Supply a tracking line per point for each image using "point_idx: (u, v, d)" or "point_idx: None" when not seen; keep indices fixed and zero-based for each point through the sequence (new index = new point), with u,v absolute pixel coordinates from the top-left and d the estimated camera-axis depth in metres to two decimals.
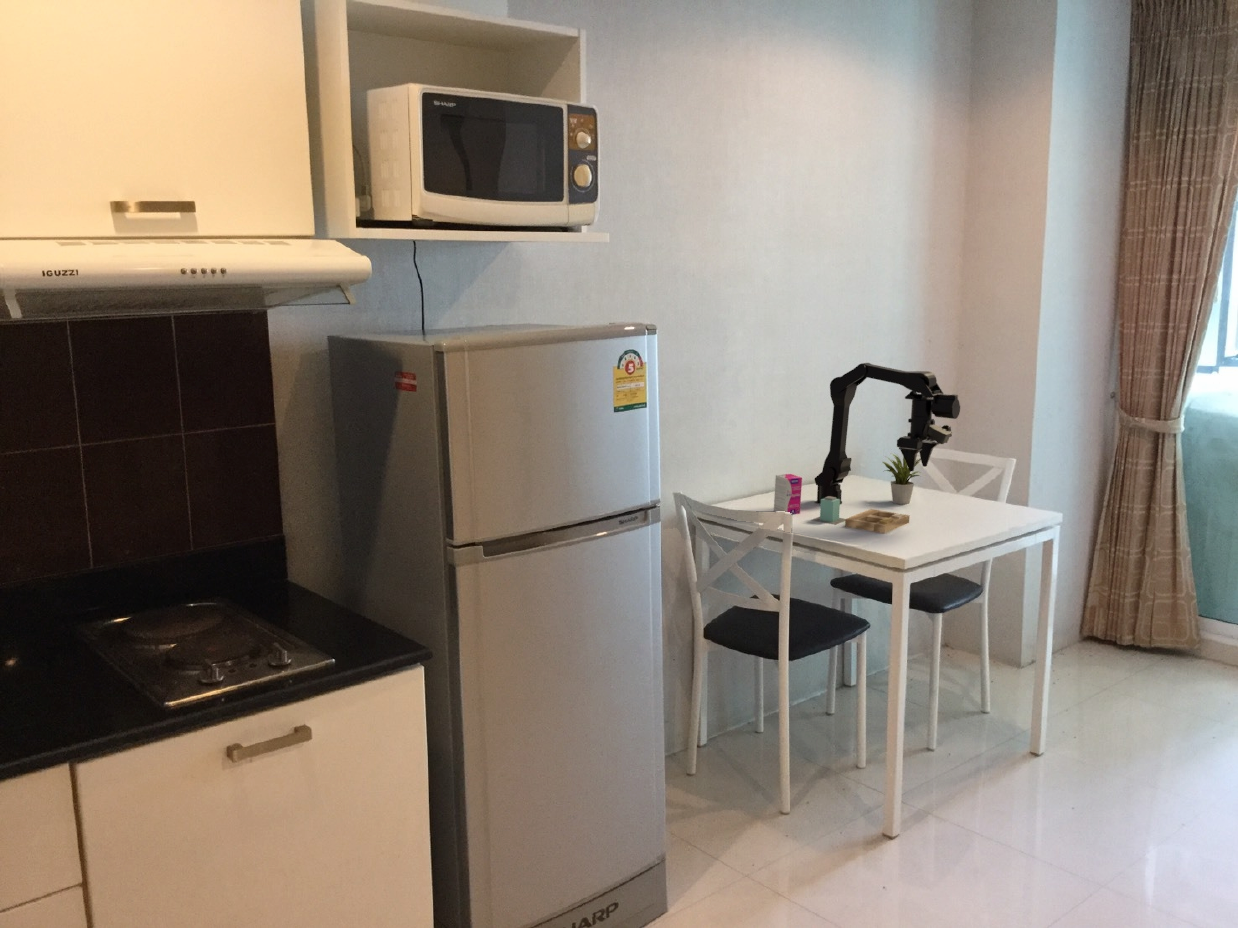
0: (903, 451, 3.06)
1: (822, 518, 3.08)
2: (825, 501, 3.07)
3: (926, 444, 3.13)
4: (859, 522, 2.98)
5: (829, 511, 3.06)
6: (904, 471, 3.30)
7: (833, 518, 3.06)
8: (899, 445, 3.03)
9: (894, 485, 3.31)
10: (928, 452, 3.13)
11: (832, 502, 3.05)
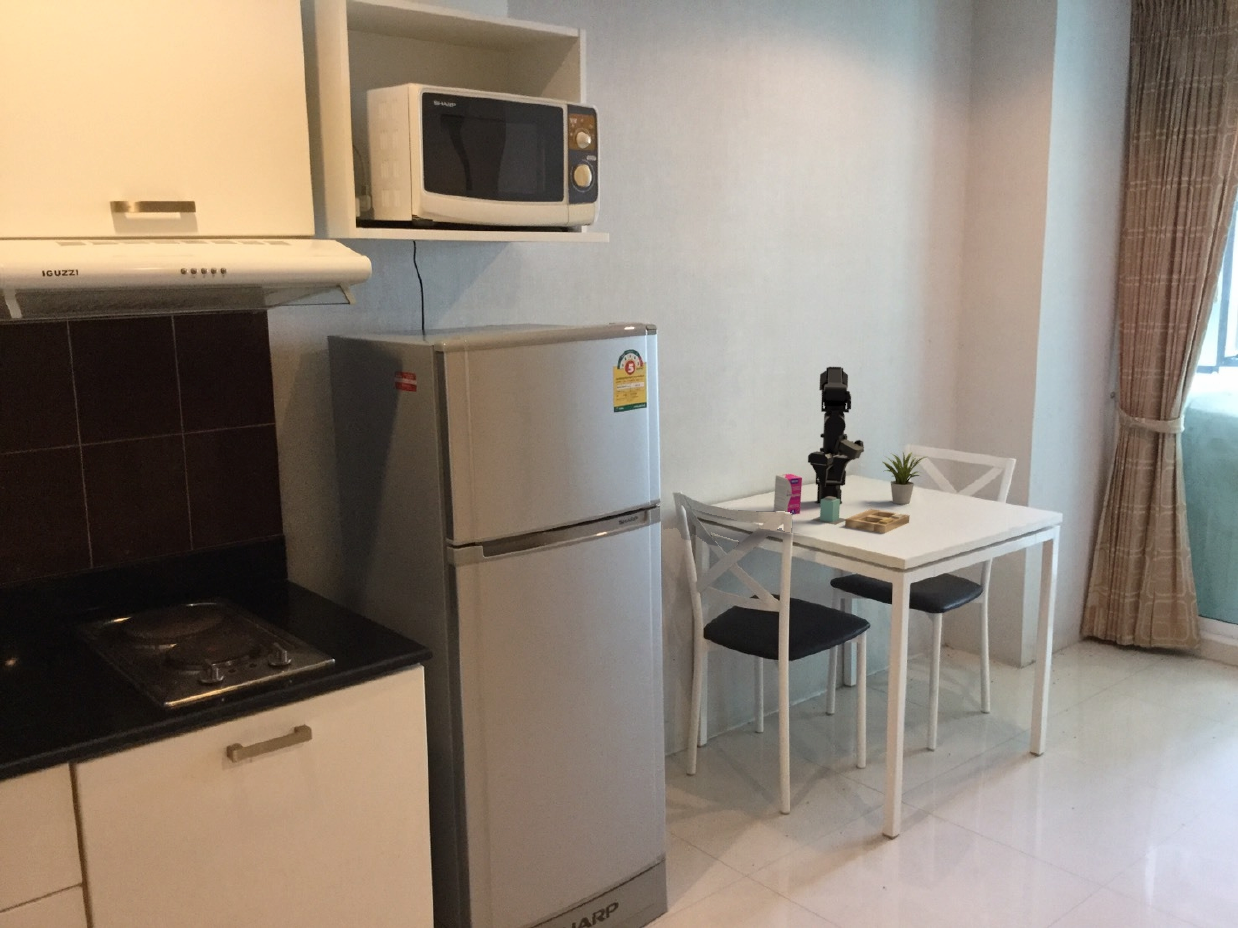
0: (815, 467, 3.02)
1: (822, 518, 3.08)
2: (825, 501, 3.07)
3: (840, 459, 3.10)
4: (859, 522, 2.98)
5: (829, 511, 3.06)
6: (904, 471, 3.30)
7: (833, 518, 3.06)
8: (810, 461, 3.00)
9: (894, 485, 3.31)
10: (842, 467, 3.09)
11: (832, 502, 3.05)
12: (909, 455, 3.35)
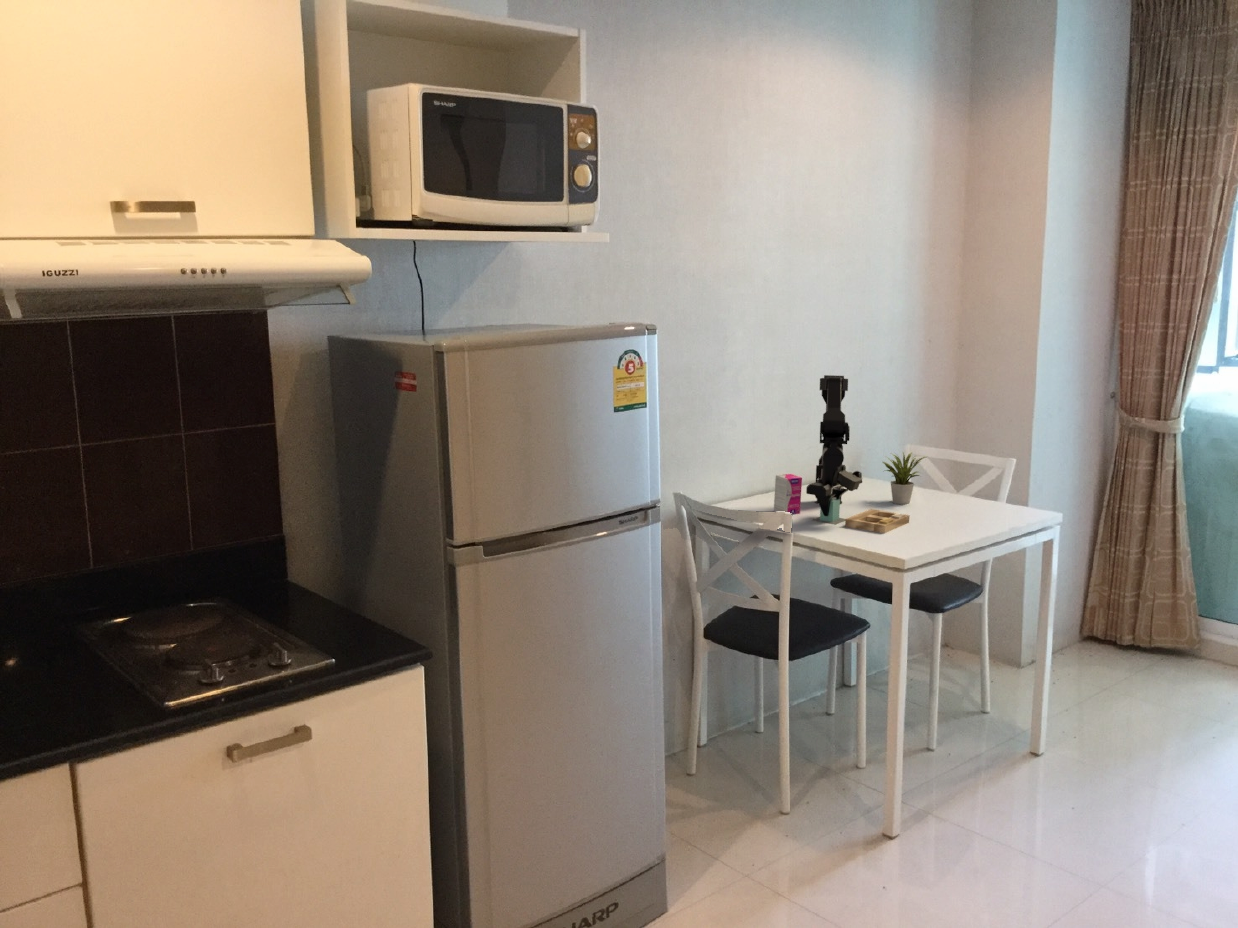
0: (817, 496, 3.06)
1: (822, 518, 3.08)
2: None
3: (834, 491, 3.09)
4: (859, 522, 2.98)
5: (829, 511, 3.06)
6: (904, 471, 3.30)
7: (833, 518, 3.06)
8: (808, 492, 3.01)
9: (894, 485, 3.31)
10: None
11: (832, 502, 3.05)
12: (909, 455, 3.35)
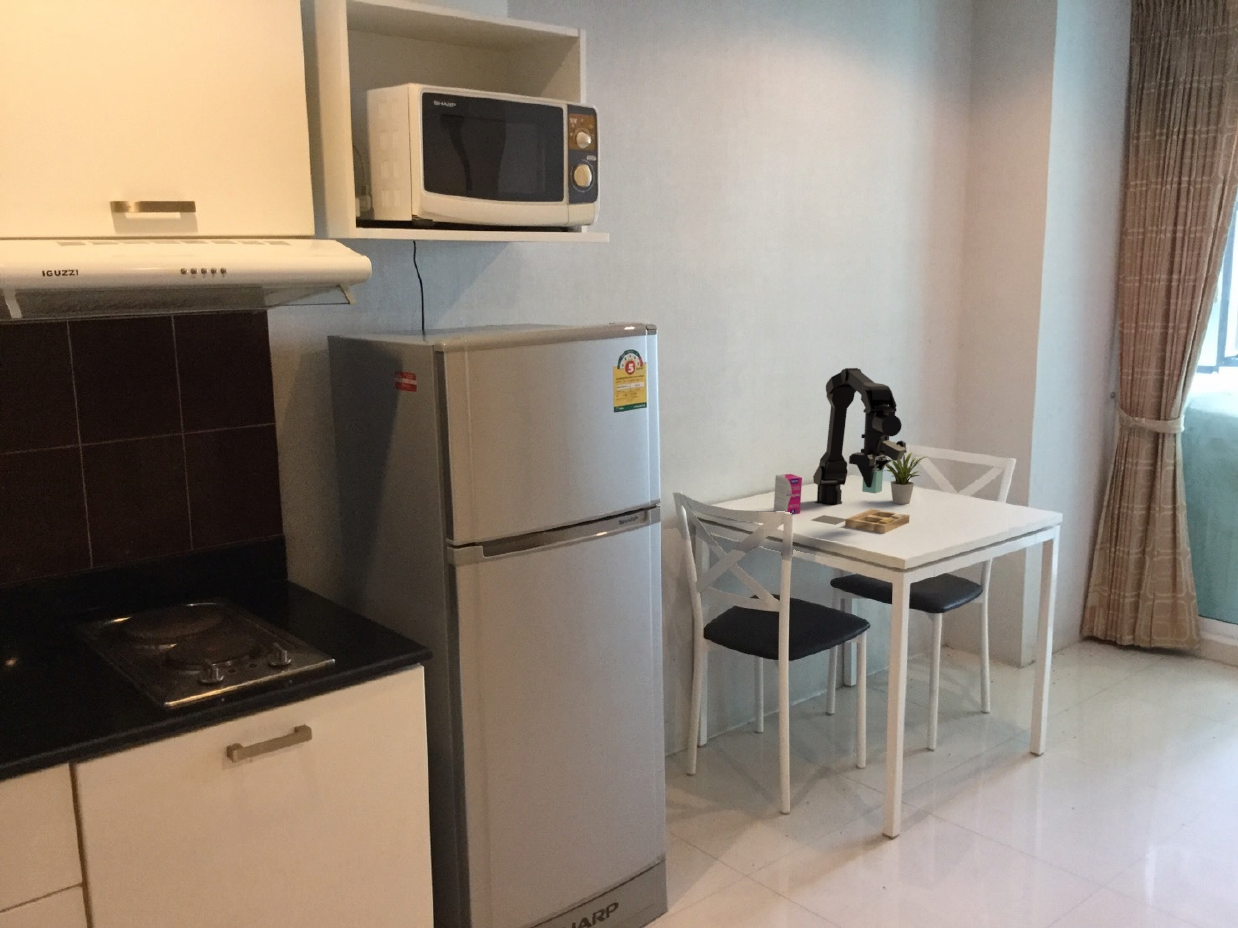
0: (860, 467, 2.96)
1: (864, 490, 2.98)
2: None
3: (877, 462, 3.00)
4: (859, 522, 2.98)
5: (872, 482, 2.96)
6: (904, 471, 3.30)
7: (876, 489, 2.96)
8: (851, 462, 2.91)
9: (894, 485, 3.31)
10: None
11: (875, 473, 2.95)
12: (909, 455, 3.35)
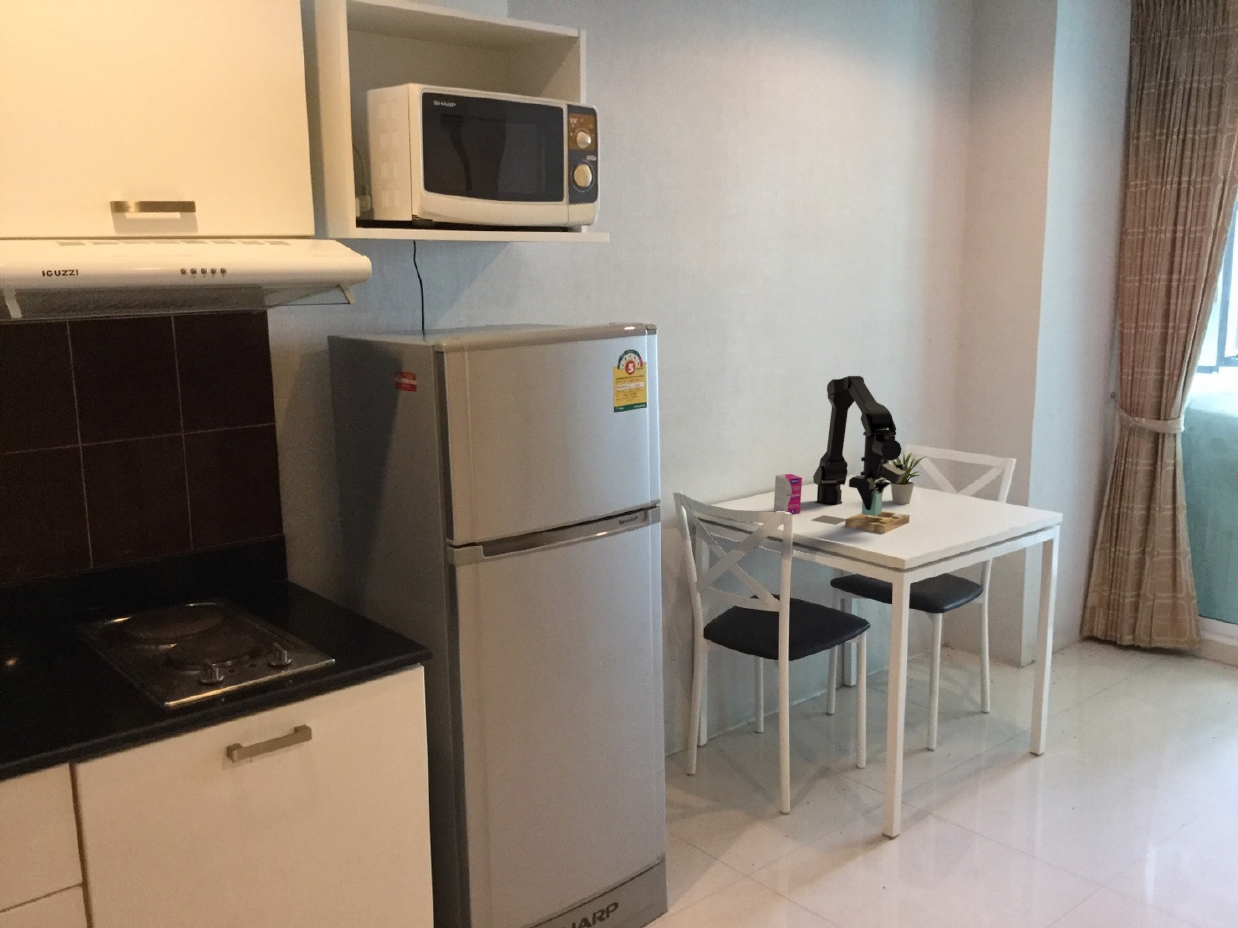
0: (859, 490, 2.97)
1: (864, 512, 2.99)
2: None
3: (877, 484, 3.01)
4: (859, 522, 2.98)
5: (871, 505, 2.98)
6: None
7: (875, 512, 2.98)
8: (851, 485, 2.93)
9: (894, 485, 3.31)
10: None
11: (875, 496, 2.97)
12: (909, 455, 3.35)
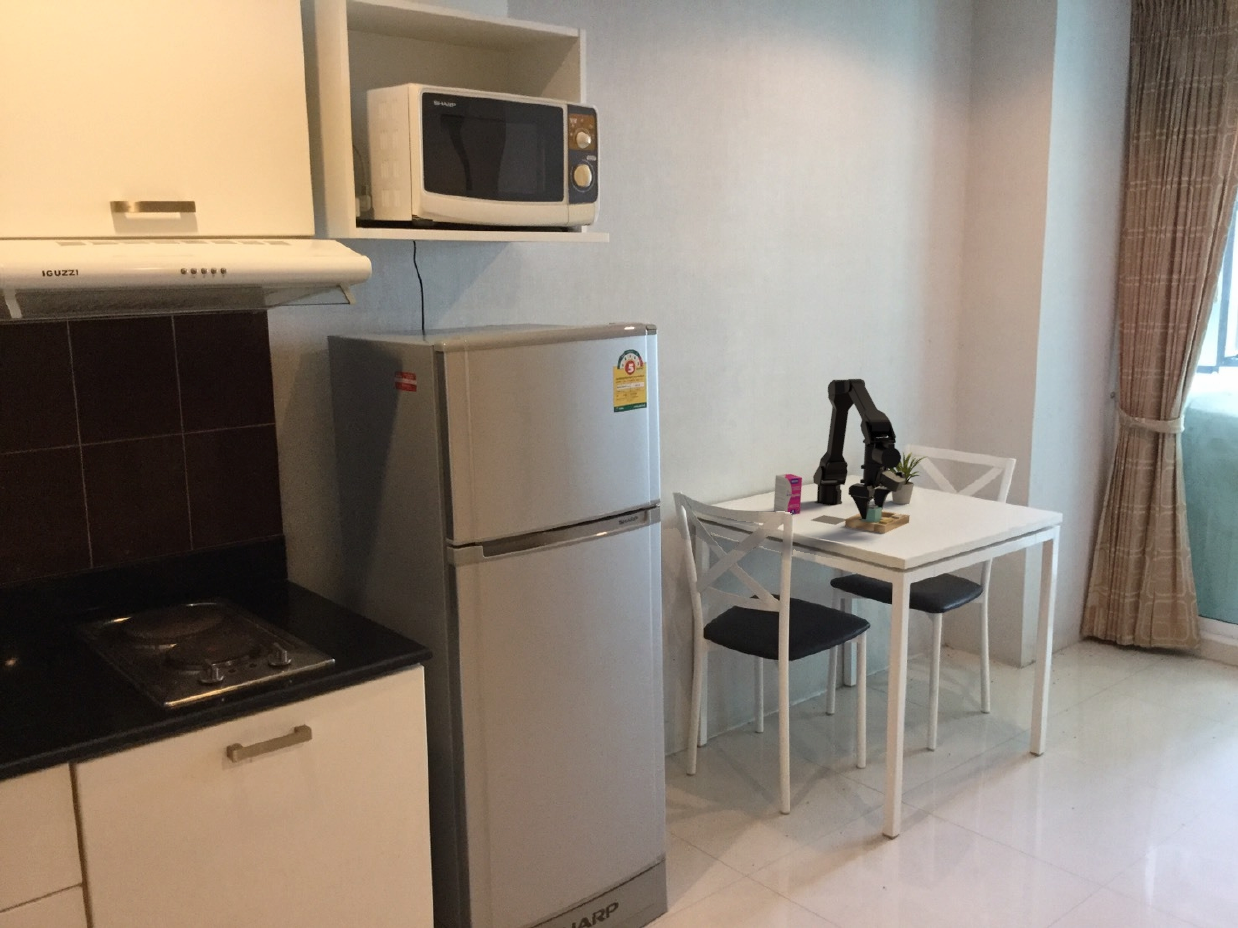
0: (855, 499, 2.95)
1: None
2: None
3: (880, 490, 3.03)
4: (859, 522, 2.98)
5: (870, 520, 2.98)
6: (904, 471, 3.30)
7: None
8: (851, 493, 2.93)
9: None
10: (882, 499, 3.03)
11: (874, 510, 2.97)
12: (909, 455, 3.35)
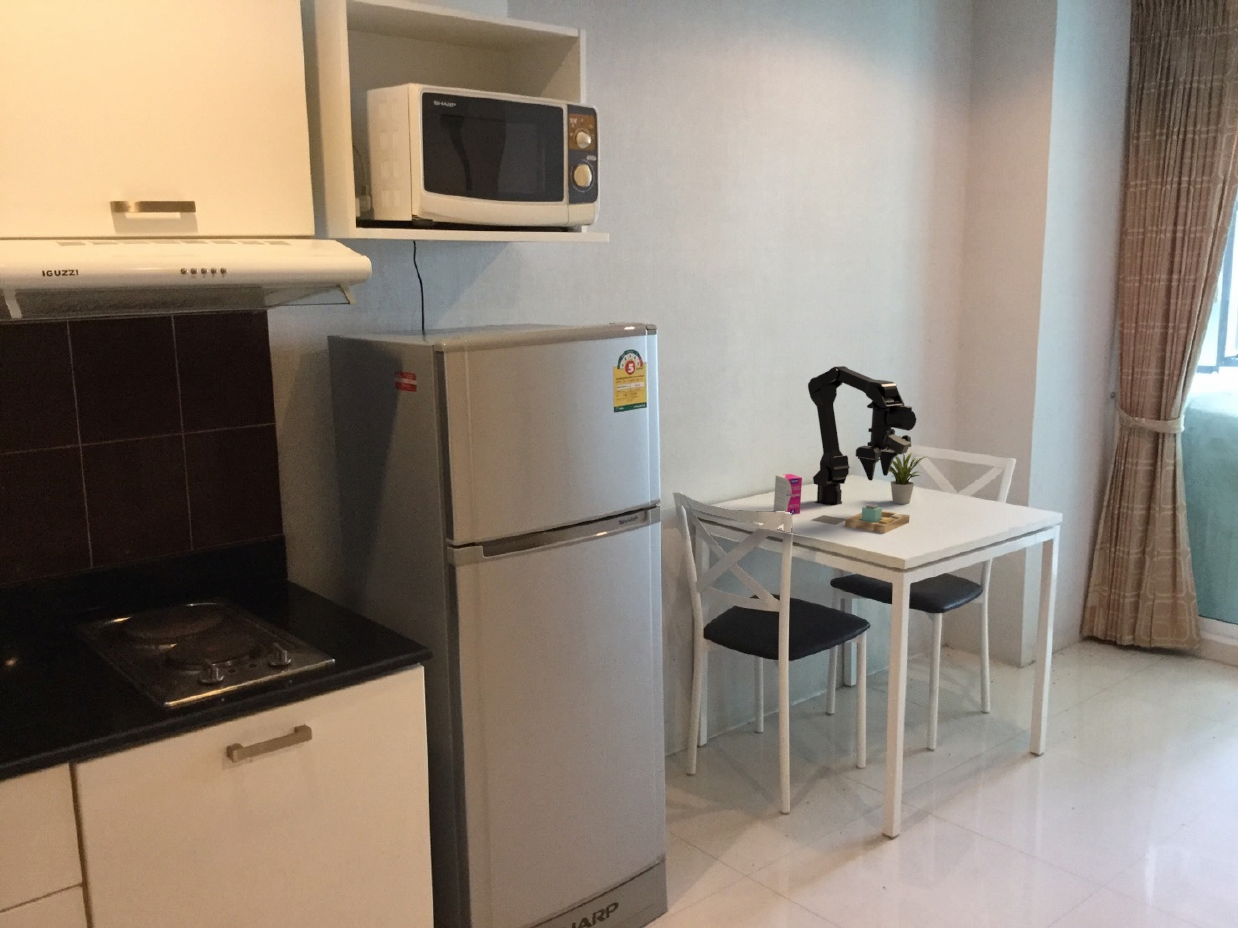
0: (862, 460, 3.08)
1: None
2: (867, 509, 2.99)
3: (887, 453, 3.15)
4: (859, 522, 2.98)
5: (870, 520, 2.98)
6: (904, 471, 3.30)
7: None
8: (857, 454, 3.05)
9: (894, 485, 3.31)
10: (889, 461, 3.15)
11: (874, 510, 2.97)
12: (909, 455, 3.35)
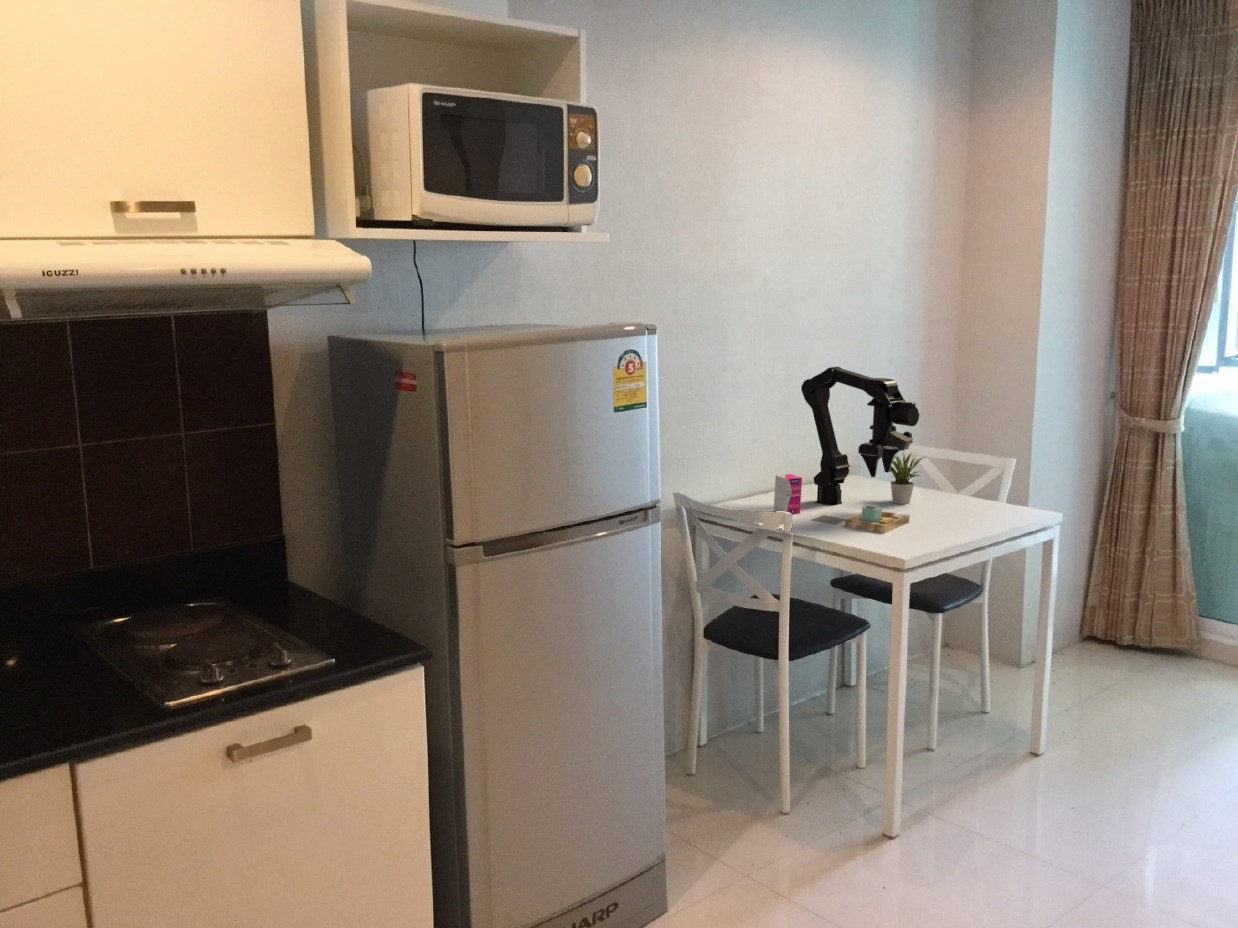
0: (865, 457, 3.10)
1: None
2: (867, 509, 2.99)
3: (888, 450, 3.18)
4: (859, 522, 2.98)
5: (870, 520, 2.98)
6: (904, 471, 3.30)
7: None
8: (860, 451, 3.08)
9: (894, 485, 3.31)
10: (890, 458, 3.18)
11: (874, 510, 2.97)
12: (909, 455, 3.35)
